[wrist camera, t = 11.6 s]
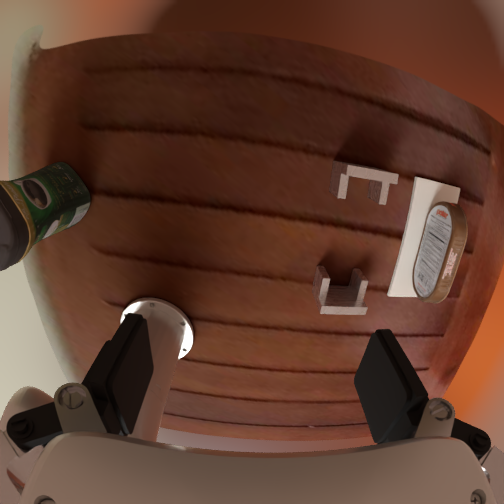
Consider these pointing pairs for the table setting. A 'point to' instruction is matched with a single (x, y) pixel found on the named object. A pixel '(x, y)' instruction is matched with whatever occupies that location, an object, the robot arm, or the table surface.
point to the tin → (439, 251)
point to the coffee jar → (38, 209)
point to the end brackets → (351, 296)
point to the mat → (417, 231)
